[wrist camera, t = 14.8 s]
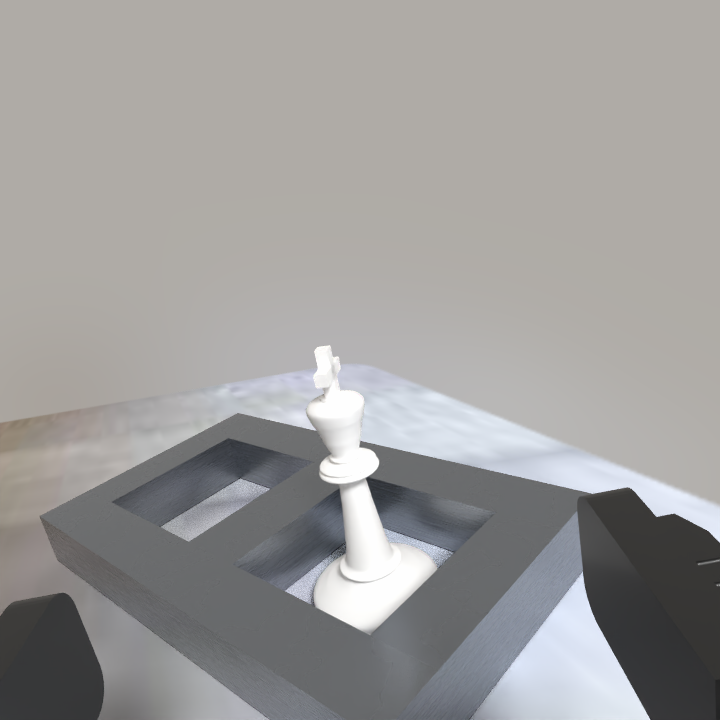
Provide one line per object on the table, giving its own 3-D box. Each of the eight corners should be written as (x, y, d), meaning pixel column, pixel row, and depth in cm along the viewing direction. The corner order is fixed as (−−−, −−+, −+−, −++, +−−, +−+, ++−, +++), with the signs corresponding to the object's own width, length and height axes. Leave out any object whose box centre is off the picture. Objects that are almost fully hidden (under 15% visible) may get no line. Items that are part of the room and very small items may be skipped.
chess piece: (298, 646, 22) (224, 384, 19) (332, 558, 27) (277, 334, 24) (437, 646, 21) (381, 366, 18) (449, 553, 26) (405, 317, 23)
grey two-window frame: (396, 814, 16) (377, 740, 15) (57, 559, 31) (39, 516, 31) (597, 551, 24) (592, 494, 23) (248, 449, 39) (237, 413, 38)
